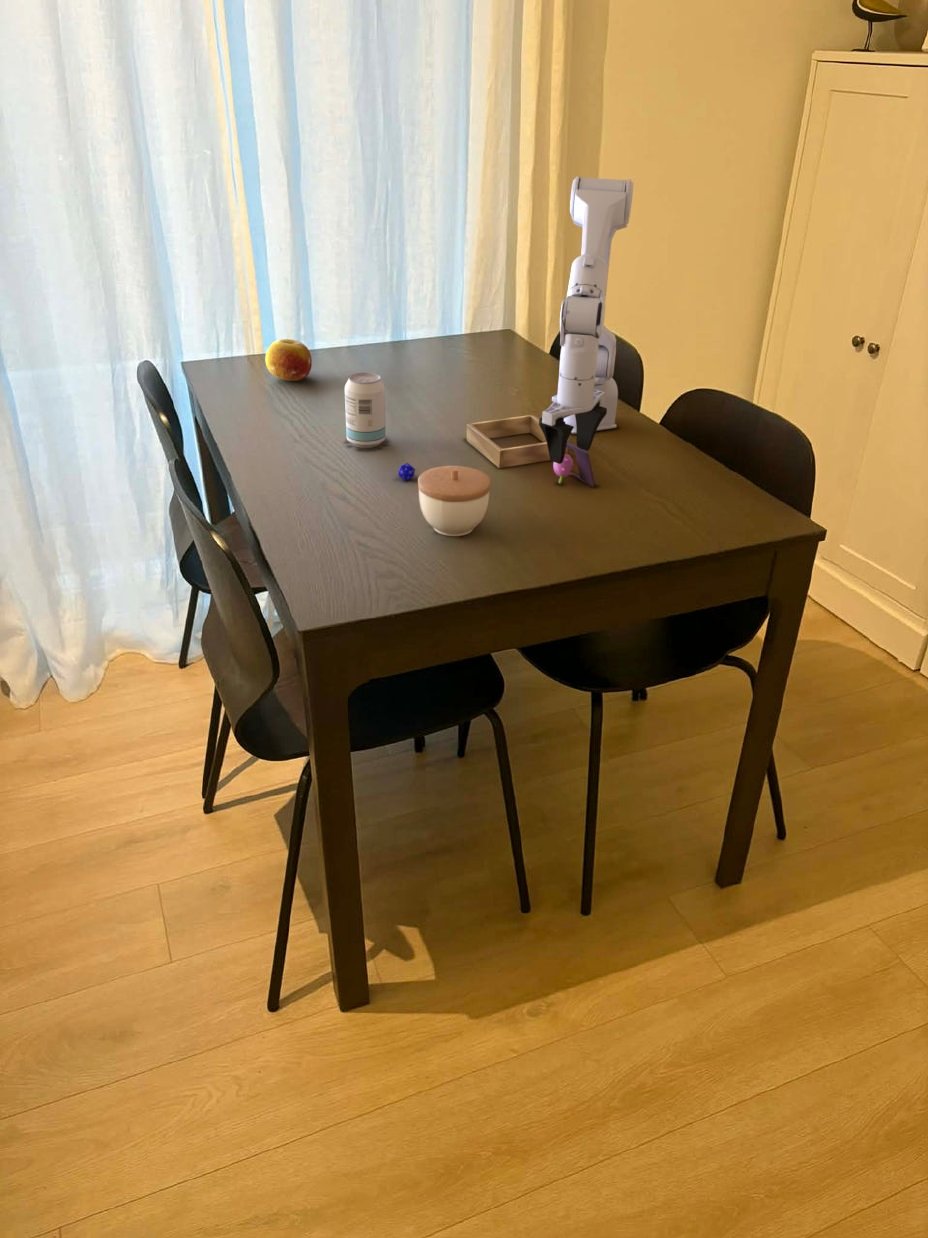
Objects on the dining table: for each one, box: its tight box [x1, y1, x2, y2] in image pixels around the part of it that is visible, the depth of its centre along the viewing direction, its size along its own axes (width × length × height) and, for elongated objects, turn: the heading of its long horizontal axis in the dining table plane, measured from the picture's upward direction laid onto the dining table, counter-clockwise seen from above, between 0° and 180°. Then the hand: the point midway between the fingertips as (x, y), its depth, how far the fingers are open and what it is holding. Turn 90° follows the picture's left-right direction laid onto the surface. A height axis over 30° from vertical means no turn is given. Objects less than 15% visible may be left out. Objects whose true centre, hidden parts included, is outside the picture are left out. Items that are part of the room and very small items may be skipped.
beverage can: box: [344, 371, 386, 449], centre depth 172 cm, size 7×7×12 cm
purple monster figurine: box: [552, 441, 596, 487], centre depth 162 cm, size 7×5×9 cm
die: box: [397, 462, 416, 482], centre depth 162 cm, size 3×3×3 cm
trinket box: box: [417, 465, 492, 537], centre depth 146 cm, size 11×11×9 cm
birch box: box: [466, 414, 570, 469], centre depth 174 cm, size 13×13×3 cm
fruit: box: [264, 338, 313, 382], centre depth 201 cm, size 10×9×8 cm
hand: (569, 455), depth 162 cm, fingers open, 7 cm apart
